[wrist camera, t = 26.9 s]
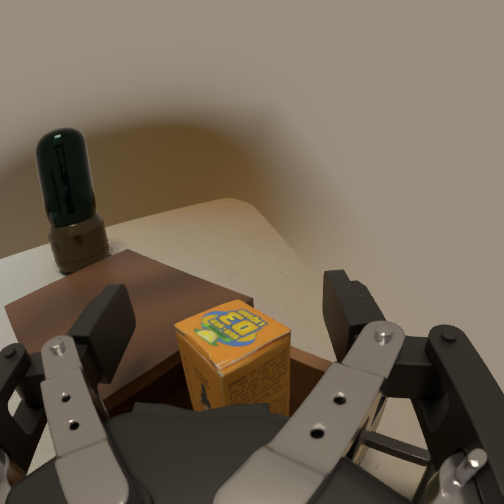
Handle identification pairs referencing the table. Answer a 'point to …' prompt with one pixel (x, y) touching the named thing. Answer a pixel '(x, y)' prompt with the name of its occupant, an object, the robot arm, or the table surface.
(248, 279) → the table surface
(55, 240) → the lamp
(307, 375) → the drawer
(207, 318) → the supplement box
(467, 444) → the robot arm
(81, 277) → the cabinet
